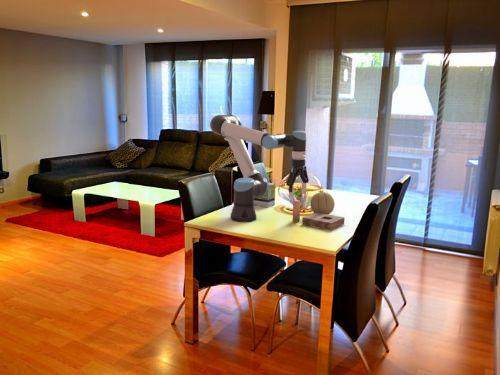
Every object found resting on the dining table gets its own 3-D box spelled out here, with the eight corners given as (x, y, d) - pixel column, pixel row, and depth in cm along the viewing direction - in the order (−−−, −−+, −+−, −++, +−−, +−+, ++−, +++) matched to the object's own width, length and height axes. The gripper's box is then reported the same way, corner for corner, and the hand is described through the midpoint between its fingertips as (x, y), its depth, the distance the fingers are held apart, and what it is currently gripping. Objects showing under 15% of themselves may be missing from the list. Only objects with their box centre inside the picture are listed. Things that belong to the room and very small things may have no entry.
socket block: (302, 224, 243) (302, 217, 243) (316, 218, 256) (316, 212, 255) (331, 230, 233) (331, 223, 232) (344, 224, 245) (344, 217, 244)
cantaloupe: (325, 220, 253) (326, 195, 250) (304, 215, 263) (306, 191, 260) (338, 215, 264) (340, 191, 261) (318, 211, 274) (319, 188, 271)
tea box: (275, 205, 288) (275, 183, 286) (267, 207, 280) (268, 185, 277) (256, 202, 296) (256, 180, 293) (248, 204, 288) (248, 182, 285)
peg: (291, 221, 249) (292, 201, 247) (294, 219, 252) (295, 199, 250) (297, 222, 247) (298, 202, 244) (300, 221, 250) (301, 201, 247)
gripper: (292, 161, 230) (291, 200, 234) (315, 157, 250) (314, 193, 254) (280, 160, 235) (279, 198, 239) (304, 156, 254) (303, 191, 258)
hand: (297, 195), depth 246 cm, fingers open, 13 cm apart
